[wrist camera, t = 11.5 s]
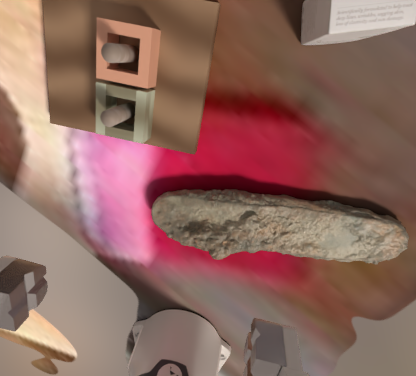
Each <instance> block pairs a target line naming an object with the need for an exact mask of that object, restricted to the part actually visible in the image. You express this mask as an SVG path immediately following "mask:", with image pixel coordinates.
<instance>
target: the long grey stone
mask: <svg viewBox="0 0 416 376" xmlns="http://www.w3.org/2000/svg"><path fill="white" fill-rule="evenodd" d="M152 219H153V221H154V223H155V224H156V225H157V226H158V227H159V228H161V229H162V230H163V231H164V232H166V234H167V236H168V238H172V239H173V240H176V241H179V242H180V243H181V245H185V246H186V245H187V246H194V247H196V248H198V249H201V250H204V251H209V254H210V255H211V256H212V258H213V259H217V260H220V259H223V258H225V257H227V256H229V255H230V254H233V253H237V252H241V251H247V252H249V253H255V252H257V251H260V250H264V251H273V252H274V251H276V252H280V253H282V254H290V255H294V256H299V257H312V258H315V259H325V260H337V261H341V262H351V261H364V262H366V263H373V264H378V262H380V261H384V260H390V259H392V258H395V257H397V256H398V255H399V254H400V253H401V252H402V251H404V250H405V249H407V243H408V239H409V236H408V234H407V233H406V230H405V228H404V227H403V225H402V224H401V222H400V221H398V220H396V219H394V218H393V217H391V216H389V215H378V214H375V213H373V212H372V211H371V210H369V209H364V208H354V207H352V206H350V205H343V204H340V203H338V202H335V201H332V200H327V201H325V200H321V201H317V200H316V201H307V200H302V199H296V198H294V197H290V196H288V195H284V194H283V195H278V196H277V195H270V194H267V195H264V194H257V193H254V194H253V193H248V192H247V191H239V190H237V189H225V190H217V189H212V190H209V191H204V190H200V189H198V190H196V189H194V190H187V189H183V190H178V191H172V192H171V191H168V192H166V193H163V194H162V195H161V196H159V197H158V198H157V199H156V200H155V202H154V203H153V206H152Z"/></svg>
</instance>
